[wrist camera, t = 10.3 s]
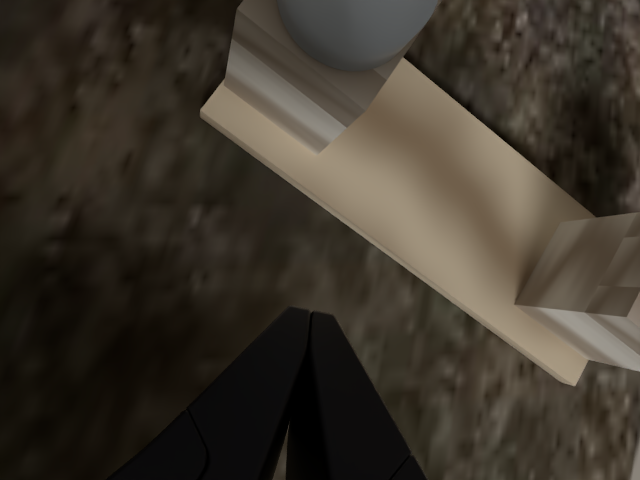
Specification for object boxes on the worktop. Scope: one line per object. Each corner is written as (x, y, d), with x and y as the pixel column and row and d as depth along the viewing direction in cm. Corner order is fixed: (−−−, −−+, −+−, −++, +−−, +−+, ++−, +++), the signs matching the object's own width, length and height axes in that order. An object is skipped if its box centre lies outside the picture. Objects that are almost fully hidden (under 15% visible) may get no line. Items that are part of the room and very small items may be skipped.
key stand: (560, 381, 26) (704, 426, 19) (199, 117, 22) (203, 42, 15) (626, 256, 27) (783, 251, 20) (299, -13, 23) (347, -139, 16)
